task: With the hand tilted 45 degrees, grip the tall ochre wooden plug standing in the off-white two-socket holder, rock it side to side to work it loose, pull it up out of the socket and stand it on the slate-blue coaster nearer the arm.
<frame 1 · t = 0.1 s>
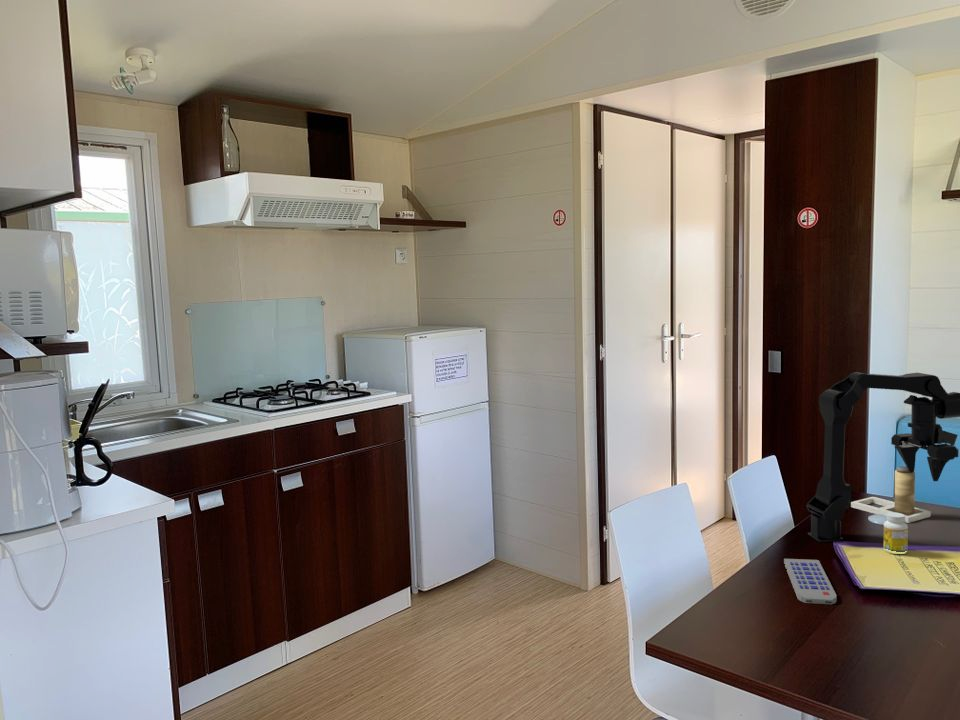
hand: (923, 476, 201), 15 cm above the table, tool pointing down, fingers open, 9 cm apart
remote control: (808, 584, 173), on the table
supplement bottle: (895, 552, 188), on the table
plug: (904, 515, 214), resting in holder
coaster: (886, 520, 211), on the table
holder: (889, 511, 218), on the table
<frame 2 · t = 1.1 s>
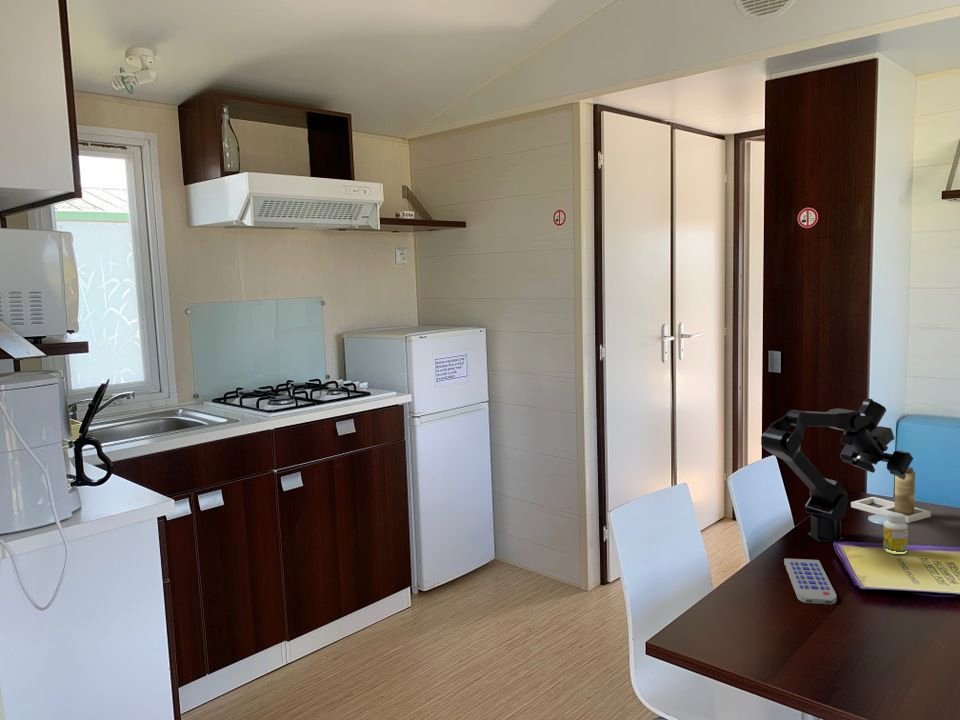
hand: (888, 474, 210), 13 cm above the table, tool tilted 45°, fingers open, 9 cm apart
nothing on the table moved.
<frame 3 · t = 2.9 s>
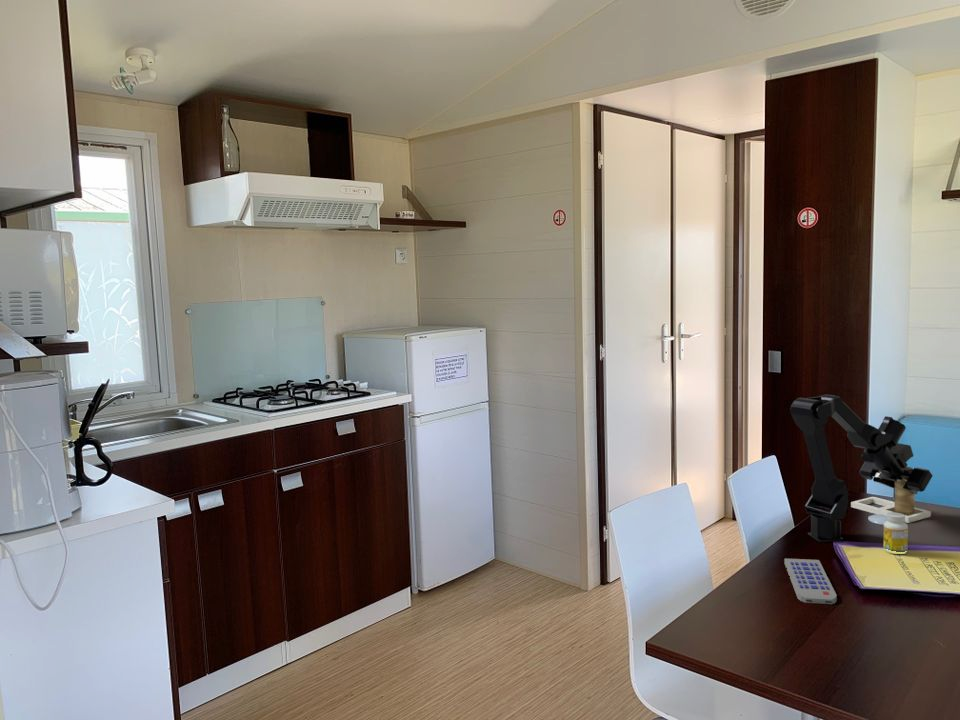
hand: (907, 490, 214), 7 cm above the table, tool tilted 45°, fingers closed on plug, 5 cm apart
plug: (904, 515, 214), resting in holder, touching gripper
everything else where it was.
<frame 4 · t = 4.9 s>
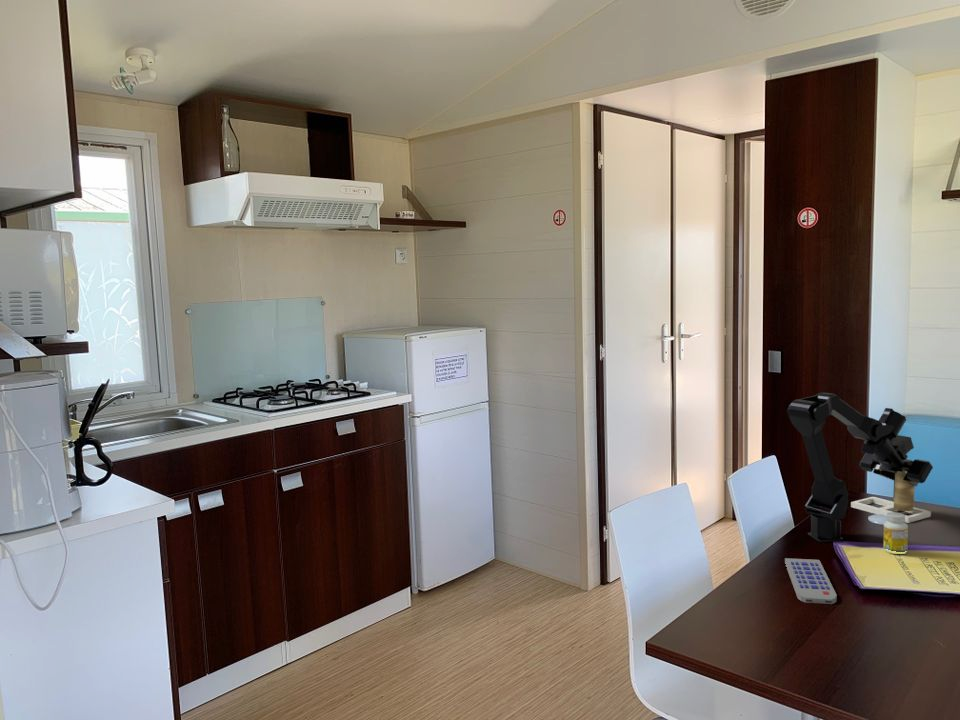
hand: (907, 482, 214), 9 cm above the table, tool tilted 45°, fingers closed on plug, 5 cm apart
plug: (903, 508, 214), point 2 cm above the table, touching gripper
everything else where it was.
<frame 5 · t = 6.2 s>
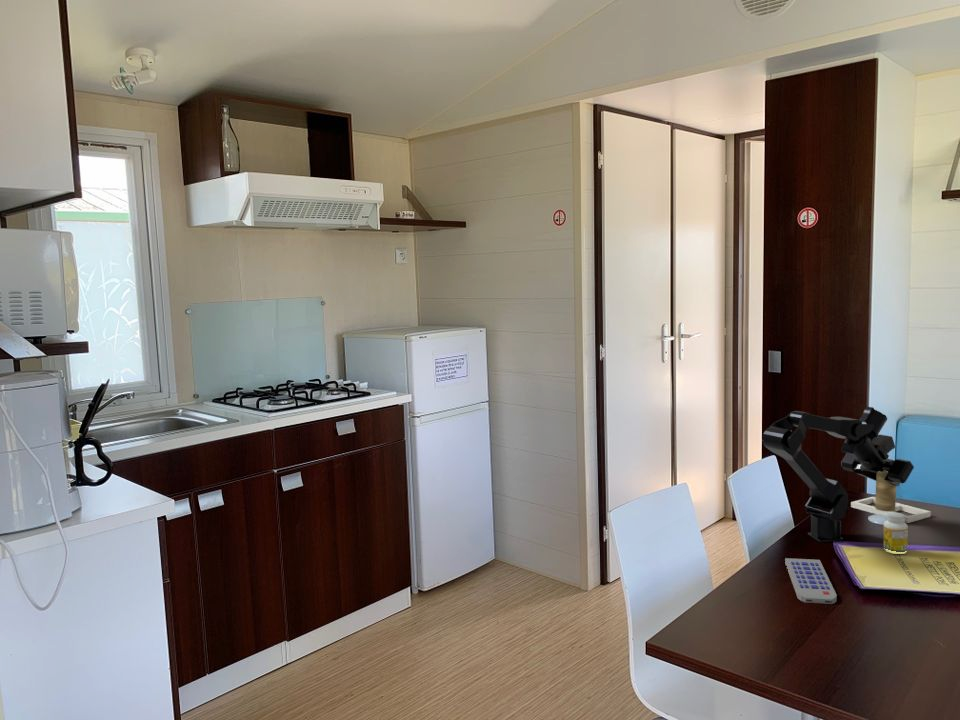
hand: (889, 483, 210), 11 cm above the table, tool tilted 45°, fingers closed on plug, 5 cm apart
plug: (885, 508, 211), point 3 cm above the table, touching gripper
everything else where it was.
when the fingers open (8 cm above the table, at t = 7.0 s): plug stays where it is, resting on coaster.
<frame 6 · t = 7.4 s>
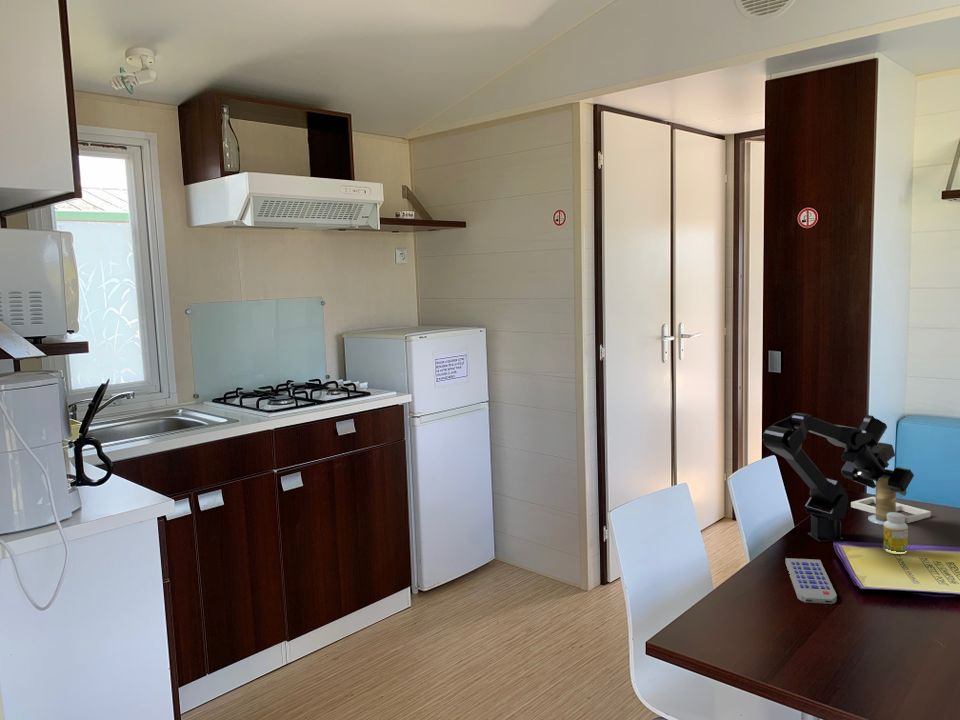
hand: (889, 490, 211), 8 cm above the table, tool tilted 45°, fingers open, 9 cm apart
plug: (885, 519, 211), resting on coaster
everything else where it was.
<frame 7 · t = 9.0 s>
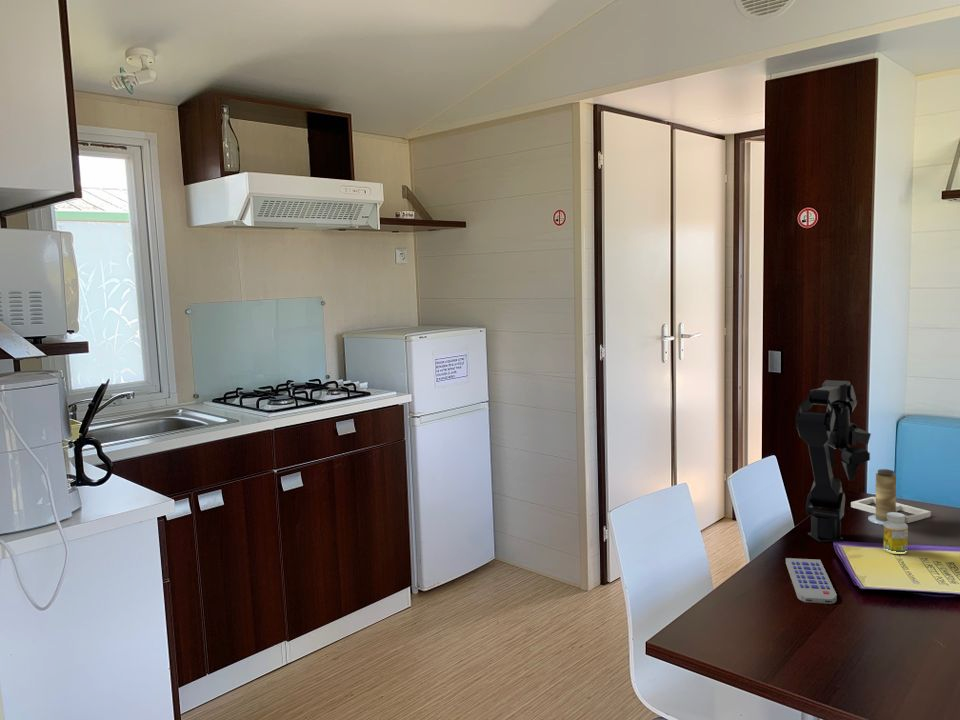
hand: (840, 474, 213), 13 cm above the table, tool pointing down, fingers open, 9 cm apart
nothing on the table moved.
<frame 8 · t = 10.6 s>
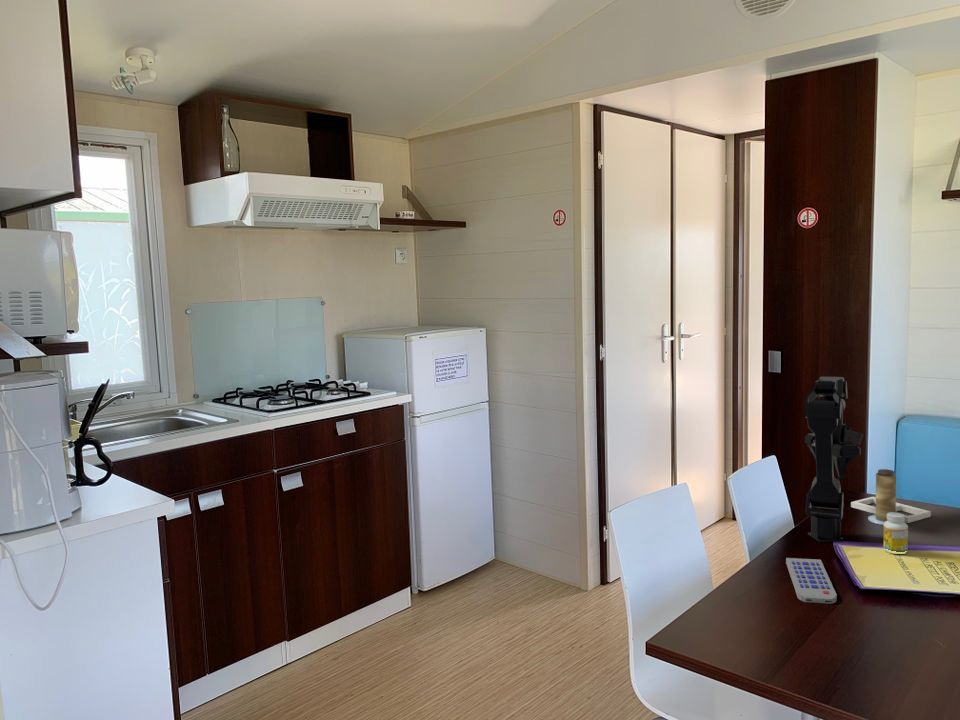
hand: (831, 473, 215), 13 cm above the table, tool pointing down, fingers open, 9 cm apart
nothing on the table moved.
at the end: plug 0.2 cm from the coaster (horizontally); plug tilted 0°; plug resting on coaster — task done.
